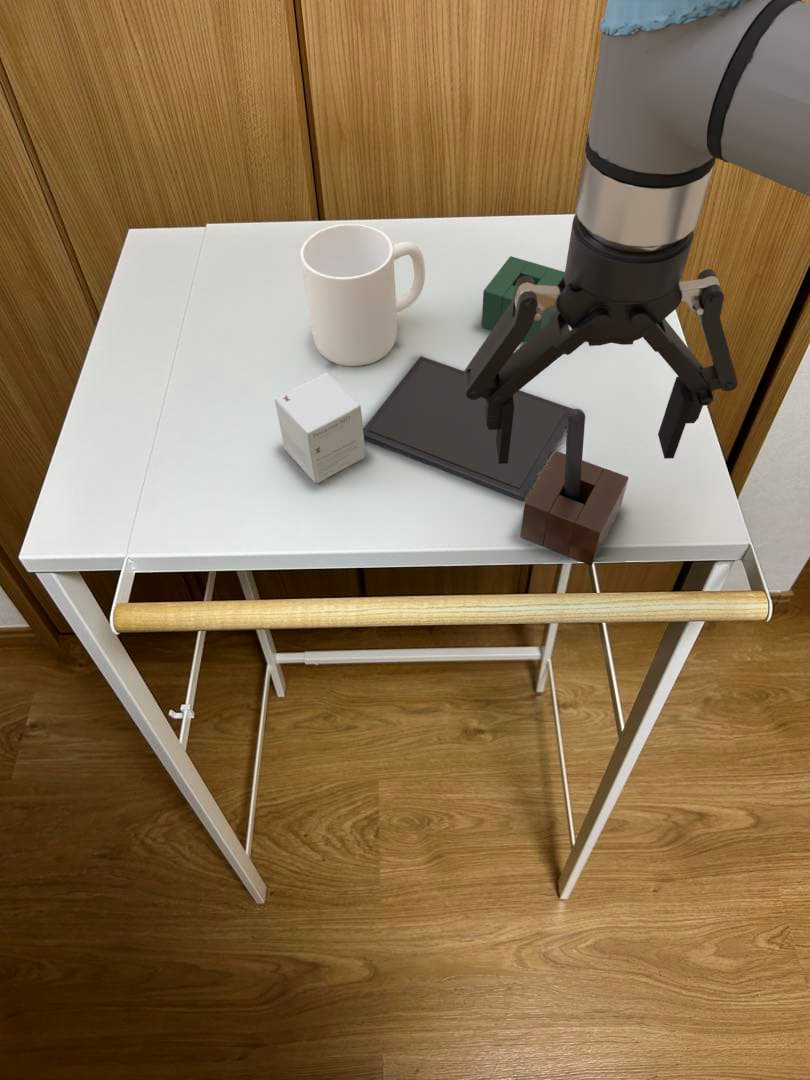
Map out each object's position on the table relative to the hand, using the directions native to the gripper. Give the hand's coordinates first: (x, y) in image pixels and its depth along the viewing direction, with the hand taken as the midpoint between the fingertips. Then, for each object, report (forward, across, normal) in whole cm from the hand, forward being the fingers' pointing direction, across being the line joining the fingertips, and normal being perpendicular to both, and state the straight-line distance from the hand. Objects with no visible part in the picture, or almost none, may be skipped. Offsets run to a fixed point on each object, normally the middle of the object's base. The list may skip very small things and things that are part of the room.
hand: (583, 449), depth 69 cm
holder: (+10, 0, 0) cm, 10 cm away
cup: (+11, +18, -28) cm, 35 cm away
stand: (+10, +1, -30) cm, 31 cm away
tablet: (+10, +8, -13) cm, 18 cm away
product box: (+10, +23, -10) cm, 27 cm away
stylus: (+10, 0, 0) cm, 10 cm away
